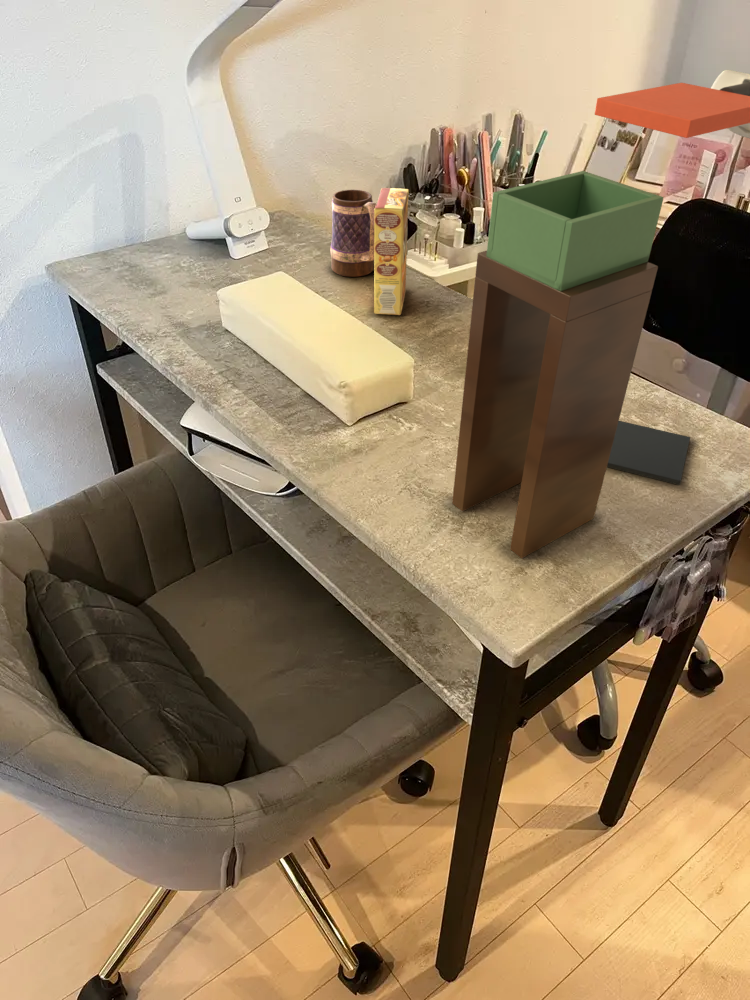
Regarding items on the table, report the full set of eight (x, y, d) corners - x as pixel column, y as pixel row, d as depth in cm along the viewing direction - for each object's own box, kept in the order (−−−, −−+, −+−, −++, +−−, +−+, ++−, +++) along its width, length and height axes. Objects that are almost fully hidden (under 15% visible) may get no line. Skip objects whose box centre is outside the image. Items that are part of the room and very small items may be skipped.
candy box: (401, 316, 111) (405, 208, 101) (372, 314, 111) (373, 207, 101) (406, 291, 118) (410, 188, 108) (378, 289, 118) (380, 186, 108)
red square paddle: (757, 85, 71) (764, 63, 70) (848, 102, 66) (856, 79, 64) (593, 119, 60) (597, 93, 59) (685, 142, 55) (692, 115, 54)
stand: (522, 469, 83) (563, 228, 66) (593, 518, 76) (658, 266, 60) (451, 503, 78) (477, 252, 62) (521, 558, 72) (570, 296, 55)
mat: (689, 441, 87) (690, 436, 87) (679, 485, 81) (681, 480, 80) (600, 420, 90) (601, 416, 90) (584, 461, 84) (585, 457, 83)
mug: (323, 265, 125) (321, 189, 117) (361, 257, 128) (361, 183, 120) (353, 288, 118) (353, 209, 110) (392, 280, 121) (395, 202, 113)
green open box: (572, 231, 66) (583, 170, 62) (648, 261, 61) (664, 196, 57) (485, 256, 61) (492, 192, 58) (560, 291, 56) (572, 222, 53)
